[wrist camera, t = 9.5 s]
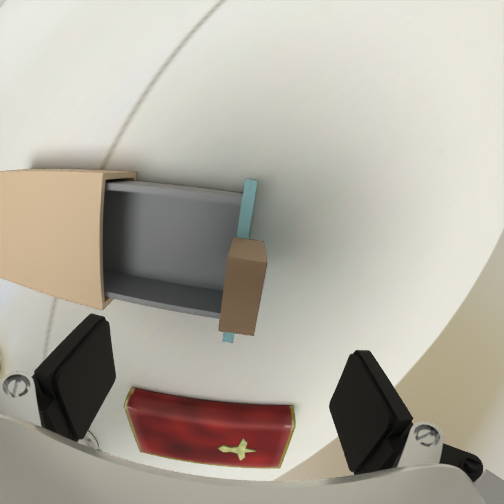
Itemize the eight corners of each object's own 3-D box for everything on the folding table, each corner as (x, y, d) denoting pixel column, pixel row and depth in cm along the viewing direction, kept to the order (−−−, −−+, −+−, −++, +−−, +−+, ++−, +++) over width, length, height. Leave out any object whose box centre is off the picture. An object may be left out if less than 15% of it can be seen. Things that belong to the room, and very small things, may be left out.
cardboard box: (31, 258, 26) (-3, 276, 19) (30, 168, 23) (-8, 172, 16) (131, 281, 26) (102, 310, 20) (136, 172, 23) (102, 172, 17)
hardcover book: (133, 383, 31) (122, 404, 27) (292, 402, 31) (296, 425, 27) (146, 433, 34) (139, 453, 30) (278, 449, 35) (280, 469, 31)
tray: (96, 280, 26) (36, 329, 15) (99, 164, 23) (22, 167, 12) (247, 307, 27) (244, 383, 16) (267, 181, 23) (280, 186, 13)
